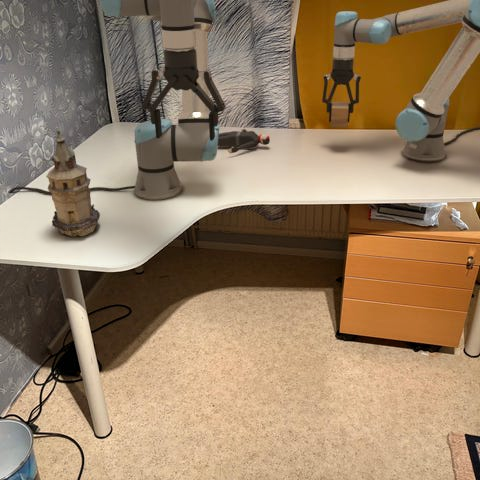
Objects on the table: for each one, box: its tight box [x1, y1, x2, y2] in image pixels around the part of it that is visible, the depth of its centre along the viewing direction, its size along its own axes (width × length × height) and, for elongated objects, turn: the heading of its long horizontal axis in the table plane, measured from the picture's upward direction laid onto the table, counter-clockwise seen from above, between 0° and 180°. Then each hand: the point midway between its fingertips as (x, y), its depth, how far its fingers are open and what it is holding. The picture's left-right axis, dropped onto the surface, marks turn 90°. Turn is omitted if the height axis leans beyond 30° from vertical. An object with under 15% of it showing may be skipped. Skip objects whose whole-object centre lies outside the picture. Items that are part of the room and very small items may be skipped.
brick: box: [330, 101, 349, 128], centre depth 203 cm, size 9×6×7 cm
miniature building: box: [46, 129, 101, 237], centre depth 148 cm, size 13×14×30 cm
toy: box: [218, 128, 271, 155], centre depth 214 cm, size 26×6×30 cm
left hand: (185, 137), depth 133 cm, fingers open, 13 cm apart
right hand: (339, 120), depth 204 cm, fingers closed on brick, 6 cm apart
